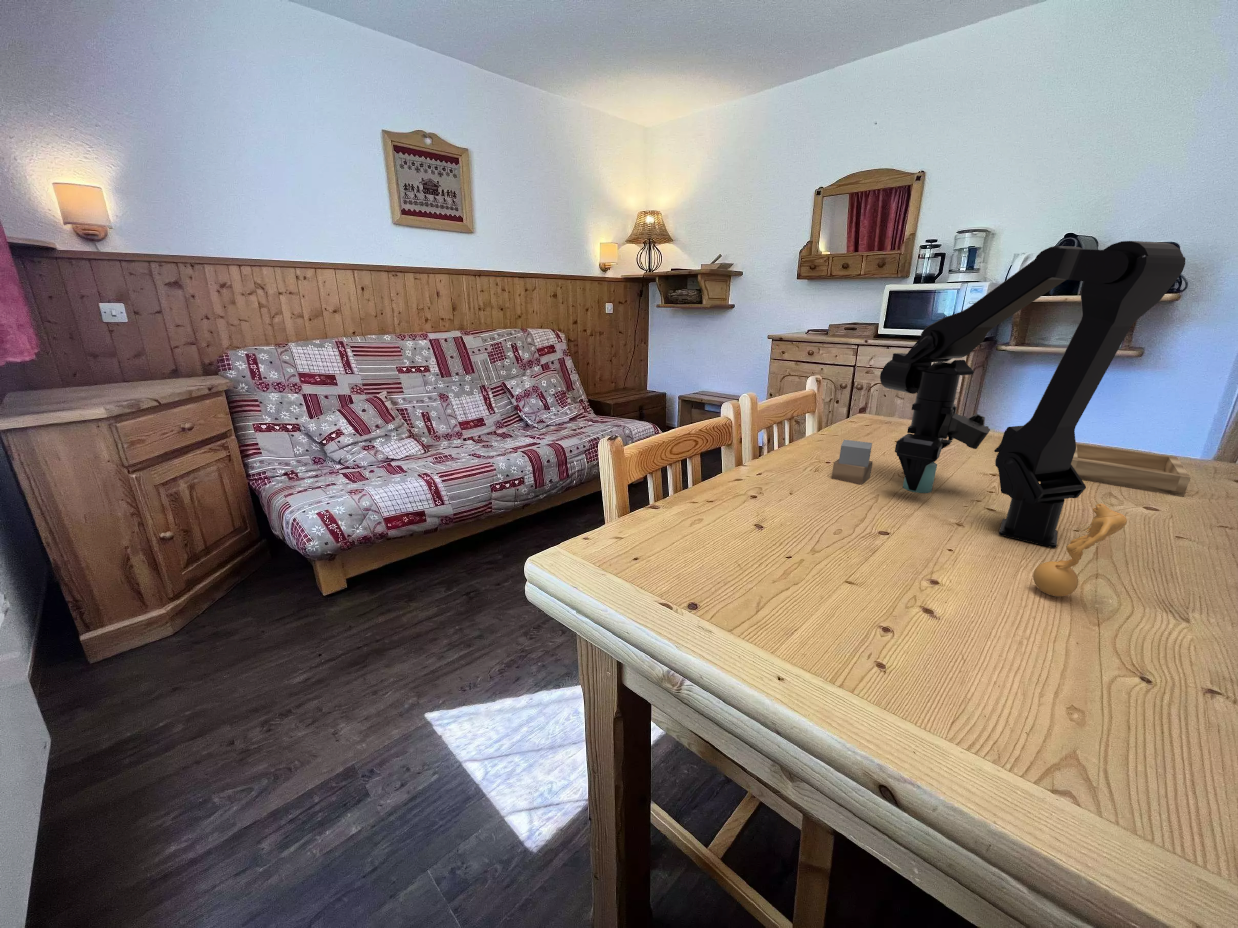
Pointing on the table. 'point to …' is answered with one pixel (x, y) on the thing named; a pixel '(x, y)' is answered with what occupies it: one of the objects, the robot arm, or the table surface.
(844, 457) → the block upper
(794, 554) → the table surface
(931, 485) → the teal cylinder
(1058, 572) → the figurine
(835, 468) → the block lower
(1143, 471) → the tray
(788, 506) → the table surface
